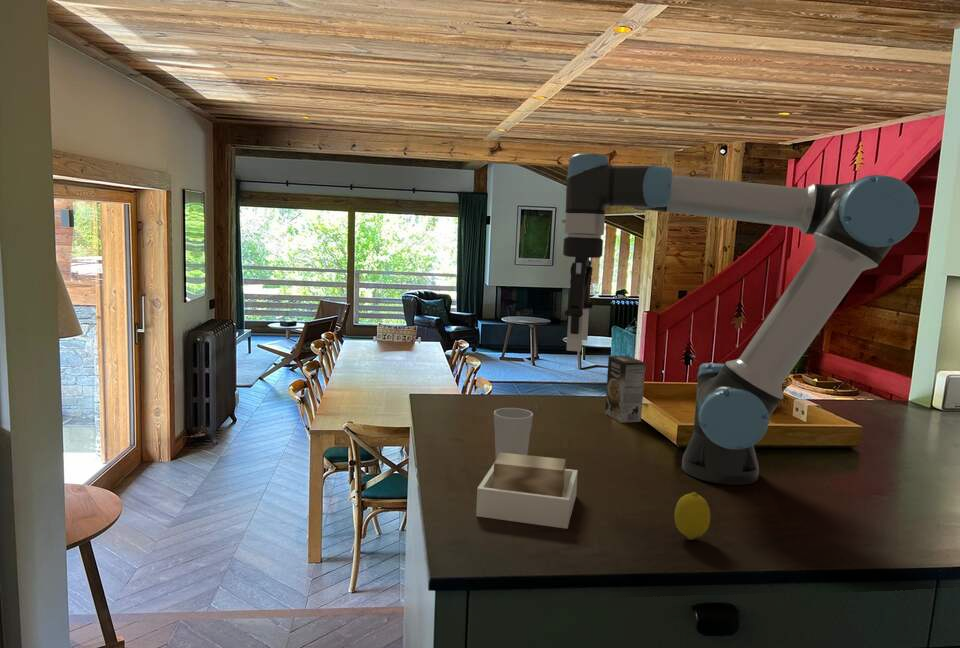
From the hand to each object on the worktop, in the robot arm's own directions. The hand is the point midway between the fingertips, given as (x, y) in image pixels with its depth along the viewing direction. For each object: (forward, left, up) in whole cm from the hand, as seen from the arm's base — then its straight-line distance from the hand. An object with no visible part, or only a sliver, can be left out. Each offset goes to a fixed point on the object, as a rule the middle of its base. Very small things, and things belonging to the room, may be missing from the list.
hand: (577, 345), depth 133 cm
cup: (+12, +1, -27) cm, 29 cm away
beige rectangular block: (+6, +18, -23) cm, 30 cm away
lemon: (-22, +23, -27) cm, 42 cm away
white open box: (+6, +18, -27) cm, 33 cm away
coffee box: (-9, -48, -27) cm, 56 cm away
